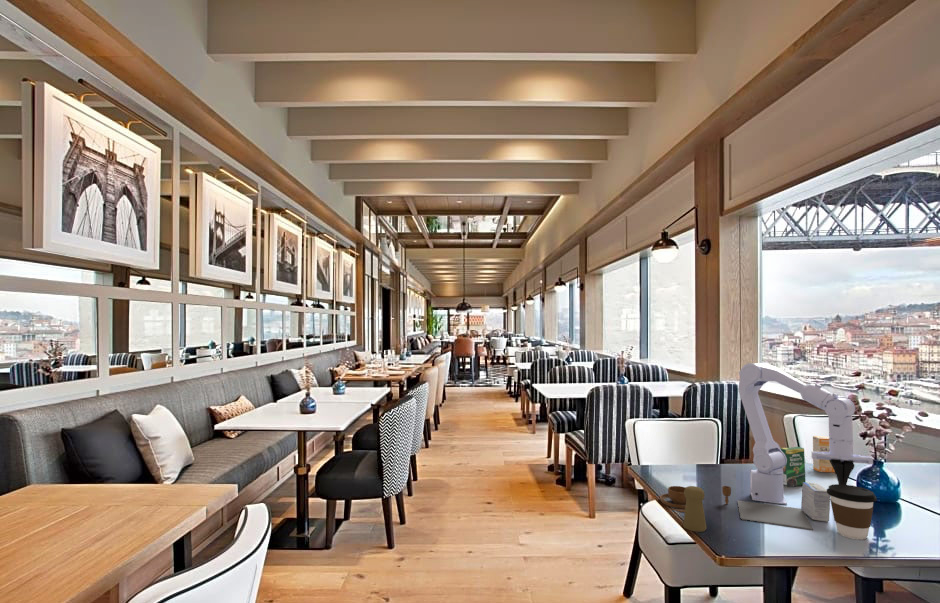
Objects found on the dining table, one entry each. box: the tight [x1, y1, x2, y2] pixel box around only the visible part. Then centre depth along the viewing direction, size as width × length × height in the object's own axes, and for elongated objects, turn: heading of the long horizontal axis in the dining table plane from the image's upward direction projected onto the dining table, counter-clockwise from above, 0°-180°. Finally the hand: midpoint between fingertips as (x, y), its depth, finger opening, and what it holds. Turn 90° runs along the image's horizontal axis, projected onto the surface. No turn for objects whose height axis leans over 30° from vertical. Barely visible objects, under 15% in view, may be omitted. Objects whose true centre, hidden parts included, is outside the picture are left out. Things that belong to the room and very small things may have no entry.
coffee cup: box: [826, 483, 878, 541], centre depth 139 cm, size 11×11×12 cm
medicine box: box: [800, 481, 831, 523], centre depth 151 cm, size 8×4×9 cm, turn 168°
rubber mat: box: [737, 500, 814, 531], centre depth 153 cm, size 18×17×1 cm
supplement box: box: [812, 435, 836, 473], centre depth 200 cm, size 8×5×13 cm, turn 81°
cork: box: [682, 485, 707, 533], centre depth 143 cm, size 6×6×11 cm
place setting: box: [659, 485, 732, 513], centre depth 161 cm, size 18×20×6 cm
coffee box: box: [780, 446, 806, 488], centre depth 182 cm, size 8×3×13 cm, turn 101°
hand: (842, 486), depth 150 cm, fingers closed
